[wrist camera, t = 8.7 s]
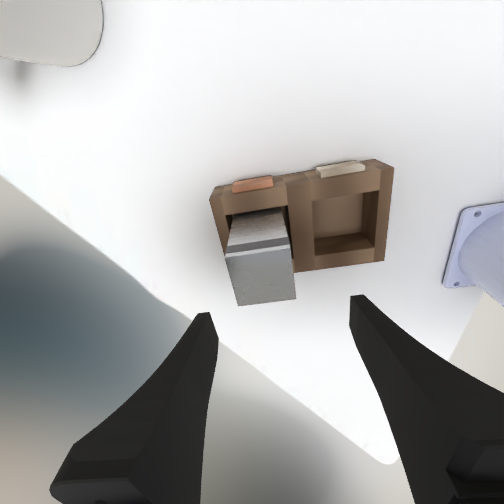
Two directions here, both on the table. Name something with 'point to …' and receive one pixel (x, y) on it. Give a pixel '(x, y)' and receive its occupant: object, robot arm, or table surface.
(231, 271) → the plug
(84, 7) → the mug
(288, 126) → the table surface
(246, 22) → the table surface
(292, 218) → the port block
